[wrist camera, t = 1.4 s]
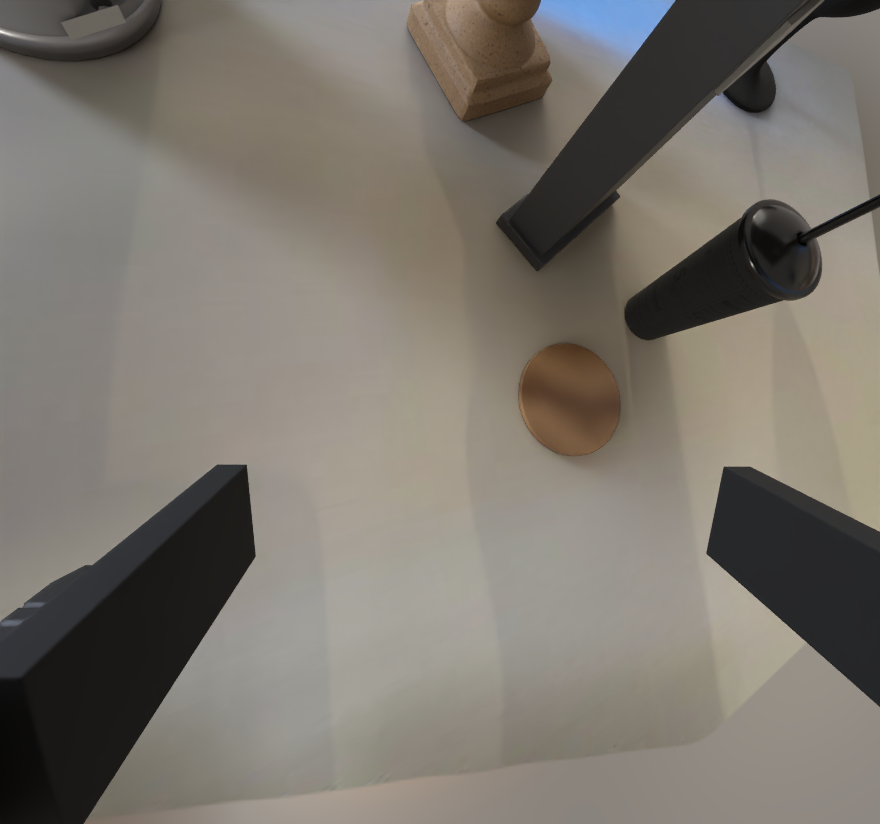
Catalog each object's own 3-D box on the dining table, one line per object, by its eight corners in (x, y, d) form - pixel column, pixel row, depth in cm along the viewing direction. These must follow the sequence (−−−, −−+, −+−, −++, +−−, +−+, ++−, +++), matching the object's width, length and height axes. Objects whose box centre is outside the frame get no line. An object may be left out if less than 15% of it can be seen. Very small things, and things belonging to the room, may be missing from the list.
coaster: (513, 343, 39) (516, 341, 38) (609, 346, 42) (613, 344, 41) (524, 459, 37) (527, 458, 37) (623, 452, 40) (627, 452, 40)
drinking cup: (675, 292, 45) (935, 156, 27) (673, 360, 44) (949, 268, 25) (614, 273, 43) (849, 112, 25) (611, 344, 42) (858, 230, 23)
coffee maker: (495, 222, 40) (870, -302, 13) (576, 158, 44) (988, -342, 17) (628, 379, 42) (1202, 193, 15) (694, 303, 46) (1237, 49, 19)
